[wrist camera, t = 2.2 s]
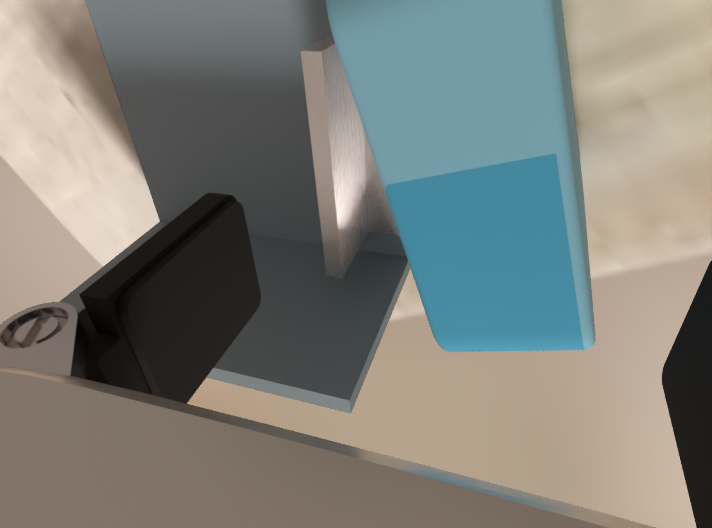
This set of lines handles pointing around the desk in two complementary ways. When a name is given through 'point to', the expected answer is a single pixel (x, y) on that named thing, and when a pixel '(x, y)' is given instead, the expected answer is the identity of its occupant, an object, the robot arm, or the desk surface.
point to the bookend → (341, 161)
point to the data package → (477, 163)
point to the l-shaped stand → (250, 179)
